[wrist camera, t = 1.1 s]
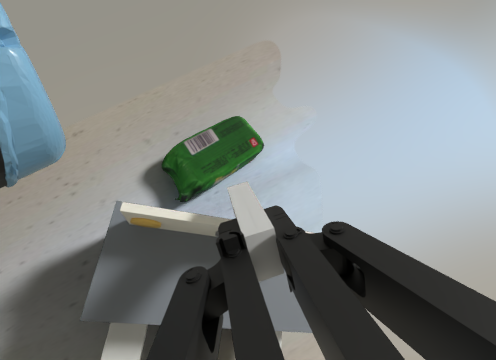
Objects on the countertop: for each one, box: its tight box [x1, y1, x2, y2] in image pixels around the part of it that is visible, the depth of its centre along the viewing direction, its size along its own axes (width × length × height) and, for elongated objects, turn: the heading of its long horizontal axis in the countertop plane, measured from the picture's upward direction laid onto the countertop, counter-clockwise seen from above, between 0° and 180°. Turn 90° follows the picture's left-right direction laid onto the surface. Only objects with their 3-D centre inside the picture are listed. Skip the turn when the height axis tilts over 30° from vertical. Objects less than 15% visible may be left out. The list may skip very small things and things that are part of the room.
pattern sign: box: [120, 202, 311, 237], centre depth 21 cm, size 16×1×5 cm, turn 84°
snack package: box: [162, 116, 264, 202], centre depth 35 cm, size 7×16×5 cm, turn 129°
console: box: [80, 201, 313, 333], centre depth 27 cm, size 19×9×11 cm, turn 84°
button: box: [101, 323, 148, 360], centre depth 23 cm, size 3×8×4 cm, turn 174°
